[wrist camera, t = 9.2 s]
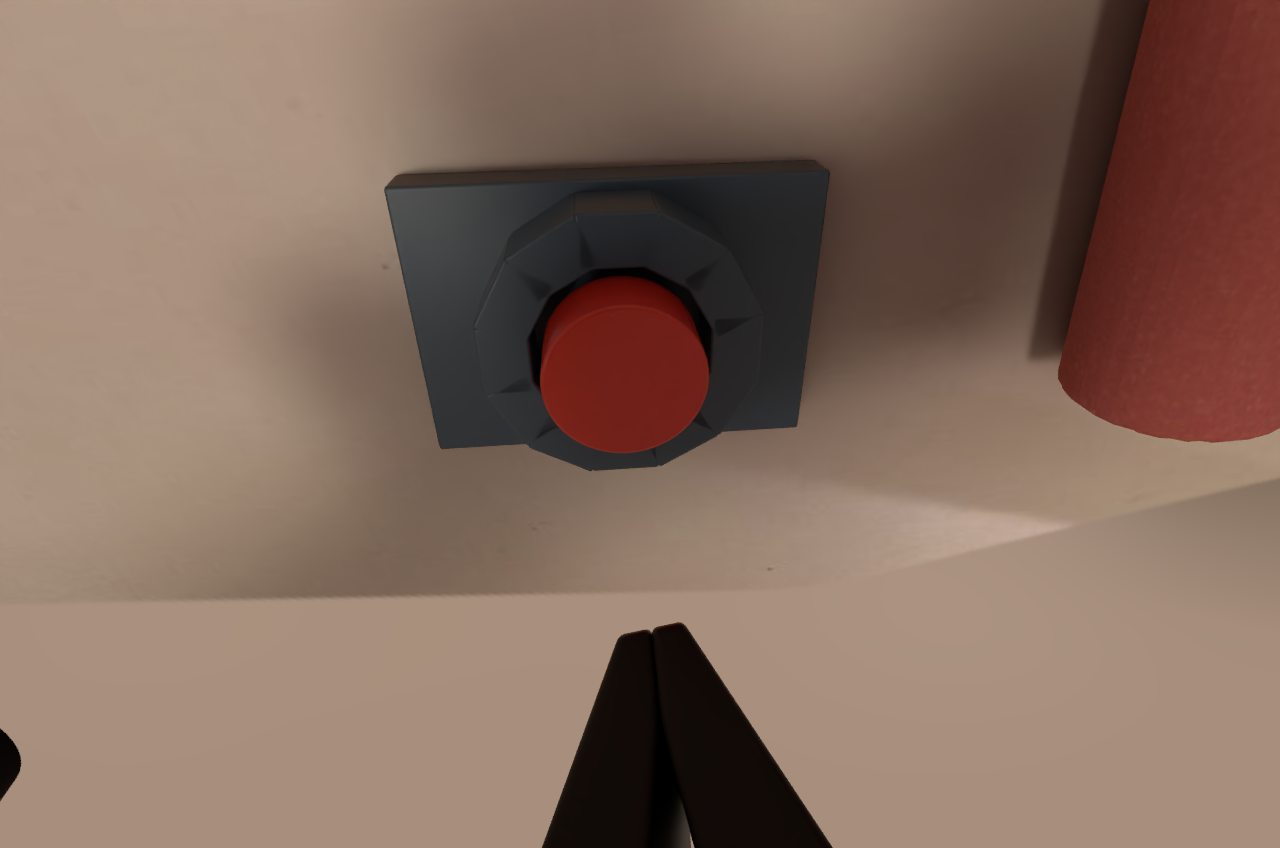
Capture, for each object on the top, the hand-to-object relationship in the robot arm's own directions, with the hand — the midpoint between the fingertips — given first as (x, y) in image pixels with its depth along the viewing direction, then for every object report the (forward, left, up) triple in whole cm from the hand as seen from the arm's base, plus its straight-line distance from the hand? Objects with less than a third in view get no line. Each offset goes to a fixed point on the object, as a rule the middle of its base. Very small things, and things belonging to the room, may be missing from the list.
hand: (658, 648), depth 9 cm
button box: (0, 0, -11) cm, 11 cm away
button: (0, 0, -9) cm, 9 cm away
